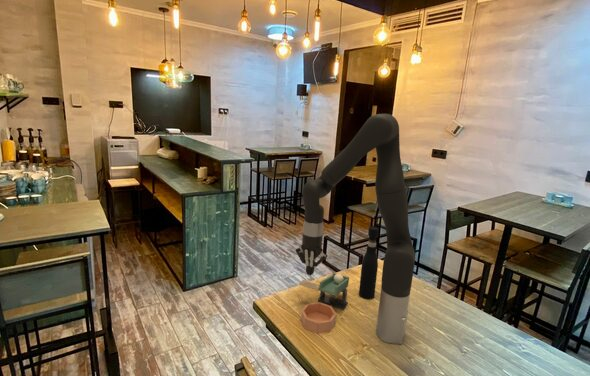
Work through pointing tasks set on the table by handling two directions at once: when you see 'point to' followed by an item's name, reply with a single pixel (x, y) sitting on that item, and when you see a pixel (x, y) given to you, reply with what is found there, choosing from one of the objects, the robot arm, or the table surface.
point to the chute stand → (334, 300)
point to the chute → (327, 285)
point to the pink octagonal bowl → (318, 317)
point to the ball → (338, 278)
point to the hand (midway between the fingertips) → (309, 274)
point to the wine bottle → (369, 267)
